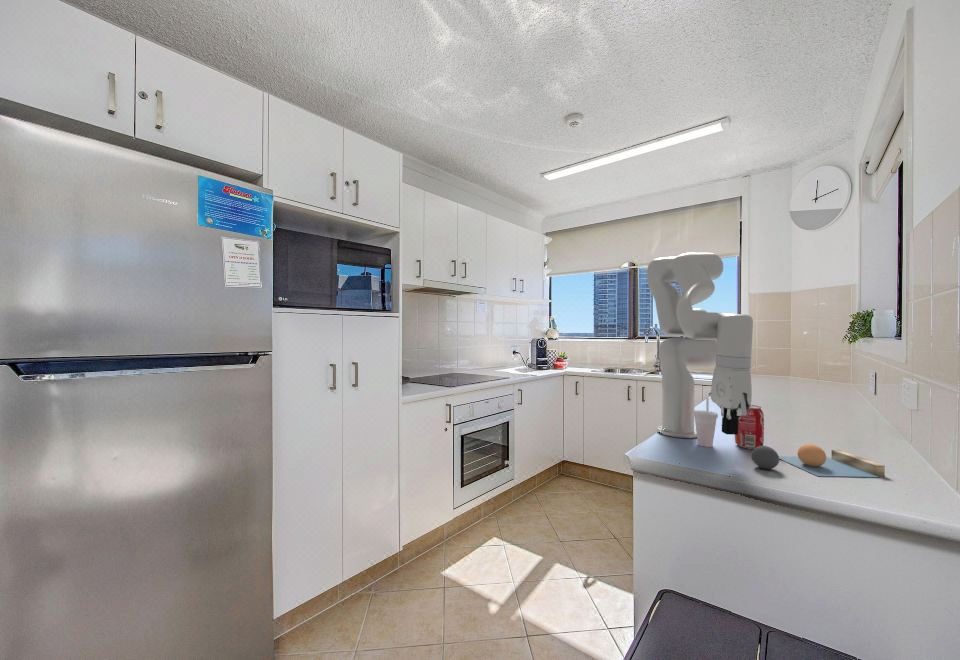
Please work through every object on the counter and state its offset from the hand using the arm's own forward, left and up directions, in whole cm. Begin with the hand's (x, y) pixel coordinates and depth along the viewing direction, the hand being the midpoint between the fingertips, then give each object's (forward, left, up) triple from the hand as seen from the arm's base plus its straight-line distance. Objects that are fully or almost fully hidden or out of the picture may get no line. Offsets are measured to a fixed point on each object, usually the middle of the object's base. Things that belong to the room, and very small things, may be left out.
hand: (729, 433), depth 100 cm
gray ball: (+4, +6, -5) cm, 9 cm away
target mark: (+2, +22, -8) cm, 23 cm away
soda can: (-14, +14, -8) cm, 22 cm away
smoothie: (-15, +2, -8) cm, 17 cm away
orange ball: (+2, +19, -5) cm, 20 cm away
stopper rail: (+2, +30, -8) cm, 31 cm away
